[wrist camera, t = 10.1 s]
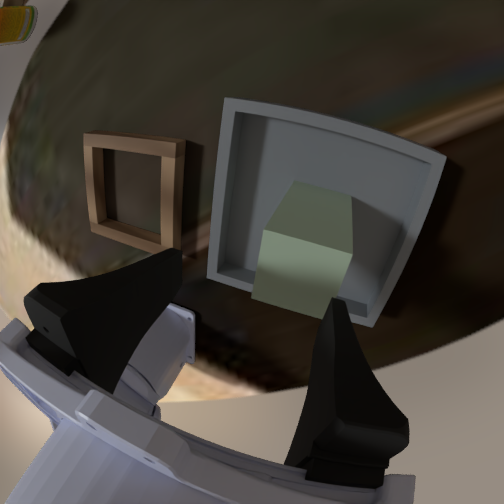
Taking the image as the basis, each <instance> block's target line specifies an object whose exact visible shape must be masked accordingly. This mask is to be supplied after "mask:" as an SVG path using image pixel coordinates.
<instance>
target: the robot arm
mask: <svg viewBox="0 0 504 504" xmlns="http://www.w3.org/2000/svg"><path fill="white" fill-rule="evenodd" d="M181 285H182V251H181V250H178V249H175V248H169V249H166V250H164V251H161V252H159V253H157V254H154V255H152V256H150V257H147V258H145V259H143V260H141V261H138V262H136V263H133V264H131V265H128V266H126V267H123V268H120V269H118V270H115V271H112V272H109V273H105V274H102V275H98V276H94V277H89V278H85V279H80V280H73V281H65V282H49V283H40V284H39V285H37V286H36V287H35V288H34V289H33V290H32V291H30V292H29V293H28V294H27V295H26V296H25V297H24V306H25V308H26V311H27V313H28V315H29V318H30V320H31V322H32V324H33V326H34V329H33V330H32V331H30V330H29V329H28V328H27V327H26V326H25V325H24V324H23V323H22V322H21V321H19V320H18V319H17V318H14V319H13V320H12V321H11V322H10V323H9V324H8V325H7V326H6V327H5V328H4V329H3V330H2V331H1V332H0V369H1V370H2V371H3V373H4V374H5V375H6V377H7V378H8V379H9V380H10V381H11V382H12V383H13V384H14V385H15V386H16V387H17V388H18V389H19V390H20V391H21V392H22V393H23V394H24V395H25V396H26V397H27V398H28V399H29V400H30V401H31V402H32V403H33V404H34V405H35V406H36V407H37V408H38V409H40V411H42V412H43V413H44V414H45V415H46V416H47V417H48V418H49V419H50V422H51V425H52V428H53V431H54V432H53V434H52V435H51V436H50V438H49V439H48V440H47V442H46V443H45V445H44V446H43V447H42V449H41V450H40V452H39V453H38V455H37V456H36V457H35V459H34V460H33V462H32V463H31V464H30V466H29V467H28V469H27V470H26V472H25V473H24V475H23V476H22V478H21V479H20V480H19V482H18V483H17V485H16V487H15V488H14V490H13V491H12V493H11V494H10V496H9V497H8V499H7V500H6V502H5V503H4V504H413V501H414V491H415V477H416V476H415V475H401V474H389V475H385V476H384V473H385V469H387V468H388V466H389V459H390V458H392V457H393V456H395V455H396V454H398V453H400V452H401V451H402V450H404V449H405V448H406V447H407V446H408V444H409V422H408V418H406V416H405V415H404V414H403V413H402V412H401V411H400V410H399V409H398V408H397V406H396V405H395V404H394V403H393V402H392V400H391V399H390V398H389V396H388V395H387V394H386V392H385V391H384V390H383V388H382V386H381V385H380V383H379V382H378V380H377V379H376V377H375V375H374V374H373V372H372V370H371V368H370V366H369V365H368V363H367V361H366V358H365V356H364V354H363V352H362V349H361V347H360V345H359V342H358V340H357V337H356V334H355V331H354V328H353V325H352V322H351V319H350V316H349V312H348V309H347V305H346V302H345V301H344V300H340V299H337V298H334V297H332V298H331V300H330V303H329V305H328V307H327V310H326V312H325V314H324V317H323V319H322V321H321V324H320V326H319V328H318V332H317V336H316V340H315V344H314V349H313V356H312V363H311V370H310V377H309V384H308V390H307V395H306V399H305V402H304V406H303V409H302V413H301V416H300V420H299V423H298V426H297V429H296V432H295V435H294V438H293V441H292V444H291V447H290V450H289V452H288V455H287V457H286V460H285V462H284V465H283V464H279V463H275V462H271V461H268V460H264V459H261V458H257V457H253V456H250V455H247V454H244V453H241V452H237V451H235V450H232V449H229V448H226V447H223V446H220V445H218V444H215V443H212V442H210V441H207V440H204V439H202V438H199V437H197V436H194V435H192V434H190V433H187V432H185V431H182V430H180V429H178V428H176V427H174V426H171V425H169V424H167V423H165V422H163V421H161V413H160V412H161V411H160V410H161V409H160V407H159V406H158V405H157V404H156V403H157V402H158V400H160V399H162V398H163V397H164V396H165V395H166V394H167V393H168V391H169V389H170V388H171V386H172V384H173V383H174V381H175V379H176V378H177V376H178V374H179V373H180V371H181V370H182V368H183V366H184V365H185V363H186V362H188V363H190V364H194V362H195V313H194V312H193V311H191V310H188V309H185V308H183V307H180V306H178V305H175V304H172V303H171V301H172V300H173V298H174V297H175V295H176V294H177V292H178V290H179V289H180V287H181Z"/></svg>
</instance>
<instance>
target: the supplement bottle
mask: <svg viewBox="0 0 504 504" xmlns="http://www.w3.org/2000/svg"><path fill="white" fill-rule="evenodd" d="M37 15H38V12H37V8H36V7H35V6H8V7H0V46H2V45H10V44H18V43H23V42H25V41H27V39H28V38H29V37H30V36H31V34H32V32H33V30H34V28H35V25H36V22H37Z"/></svg>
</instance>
